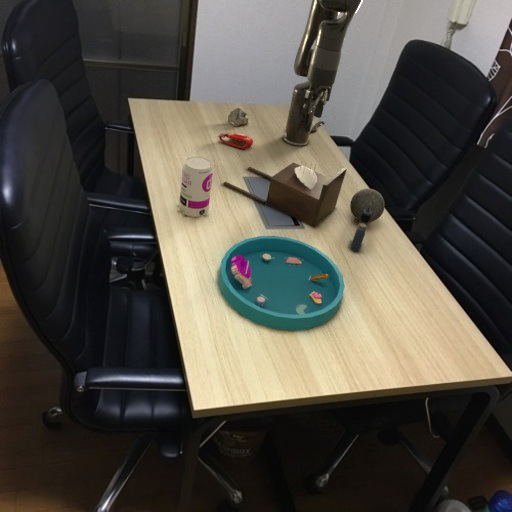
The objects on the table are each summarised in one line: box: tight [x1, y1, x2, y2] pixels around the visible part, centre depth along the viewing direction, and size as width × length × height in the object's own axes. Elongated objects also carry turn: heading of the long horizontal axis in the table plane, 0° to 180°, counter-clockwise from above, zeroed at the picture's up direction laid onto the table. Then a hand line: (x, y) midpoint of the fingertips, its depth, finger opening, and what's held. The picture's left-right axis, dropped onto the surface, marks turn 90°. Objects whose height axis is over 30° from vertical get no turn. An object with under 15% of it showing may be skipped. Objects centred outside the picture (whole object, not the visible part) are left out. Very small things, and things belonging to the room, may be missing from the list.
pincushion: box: [294, 162, 317, 189], centre depth 148 cm, size 12×6×6 cm, turn 12°
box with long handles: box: [223, 162, 347, 228], centre depth 153 cm, size 15×32×14 cm, turn 58°
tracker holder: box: [217, 132, 254, 150], centre depth 180 cm, size 12×4×10 cm
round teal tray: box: [218, 235, 345, 332], centre depth 122 cm, size 30×30×6 cm
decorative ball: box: [349, 188, 385, 223], centre depth 151 cm, size 10×10×10 cm
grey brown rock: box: [227, 107, 249, 127], centre depth 192 cm, size 4×8×7 cm, turn 108°
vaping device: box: [350, 208, 372, 253], centre depth 139 cm, size 3×5×12 cm, turn 161°
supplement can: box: [178, 155, 214, 218], centre depth 139 cm, size 8×8×15 cm
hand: (310, 120), depth 144 cm, fingers open, 8 cm apart
